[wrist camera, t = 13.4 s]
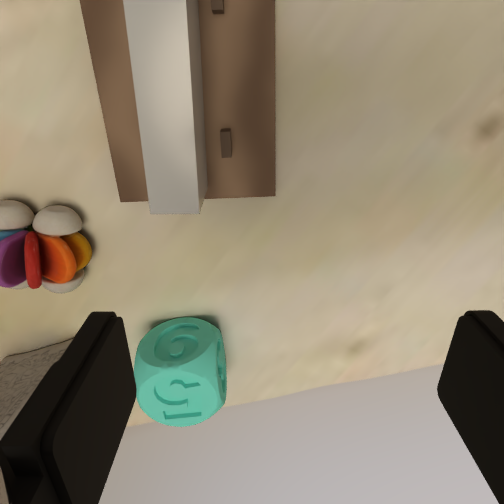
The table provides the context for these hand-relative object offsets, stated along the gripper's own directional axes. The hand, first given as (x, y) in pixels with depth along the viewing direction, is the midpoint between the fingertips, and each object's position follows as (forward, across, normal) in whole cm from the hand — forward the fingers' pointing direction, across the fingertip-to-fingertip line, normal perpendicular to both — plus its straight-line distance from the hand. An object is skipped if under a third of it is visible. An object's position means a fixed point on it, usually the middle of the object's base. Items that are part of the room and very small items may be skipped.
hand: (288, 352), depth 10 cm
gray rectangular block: (+24, +7, -5) cm, 25 cm away
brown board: (+25, +6, -7) cm, 27 cm away
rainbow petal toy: (+25, +21, +8) cm, 34 cm away
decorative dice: (+25, +8, +21) cm, 34 cm away
